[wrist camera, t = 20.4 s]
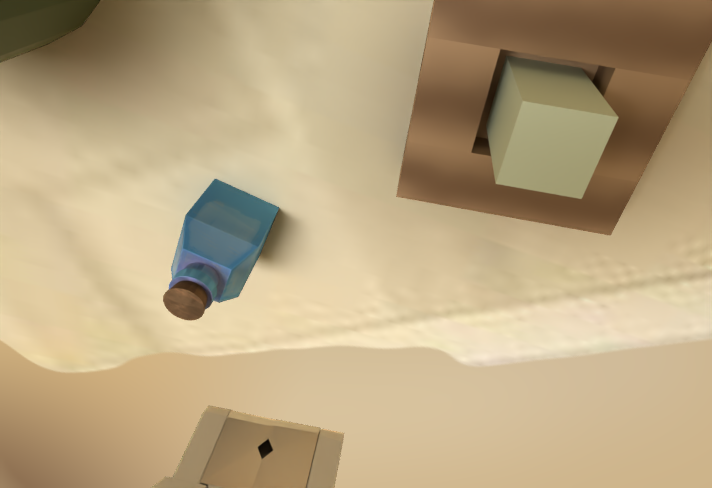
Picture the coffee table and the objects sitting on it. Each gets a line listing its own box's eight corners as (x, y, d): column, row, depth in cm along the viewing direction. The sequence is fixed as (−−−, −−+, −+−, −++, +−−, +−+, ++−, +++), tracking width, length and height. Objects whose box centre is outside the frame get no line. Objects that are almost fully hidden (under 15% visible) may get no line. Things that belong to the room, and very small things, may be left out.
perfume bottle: (279, 207, 45) (233, 293, 35) (259, 255, 49) (213, 345, 39) (215, 178, 44) (150, 258, 35) (199, 229, 48) (137, 314, 38)
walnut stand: (444, -54, 32) (444, -47, 28) (699, -14, 31) (733, -1, 27) (400, 169, 41) (396, 196, 38) (595, 204, 40) (610, 235, 37)
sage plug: (506, 55, 33) (522, 101, 26) (581, 67, 33) (618, 117, 26) (486, 125, 36) (495, 183, 29) (554, 137, 36) (581, 199, 29)
